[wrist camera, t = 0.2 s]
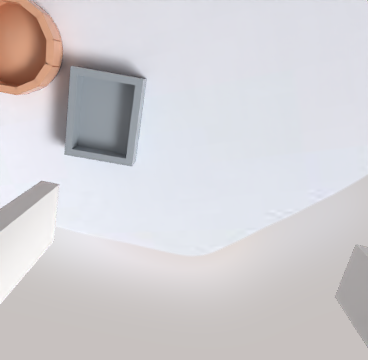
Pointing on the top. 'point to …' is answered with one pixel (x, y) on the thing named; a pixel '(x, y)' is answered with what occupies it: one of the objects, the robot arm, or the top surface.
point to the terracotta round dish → (27, 47)
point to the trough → (104, 115)
